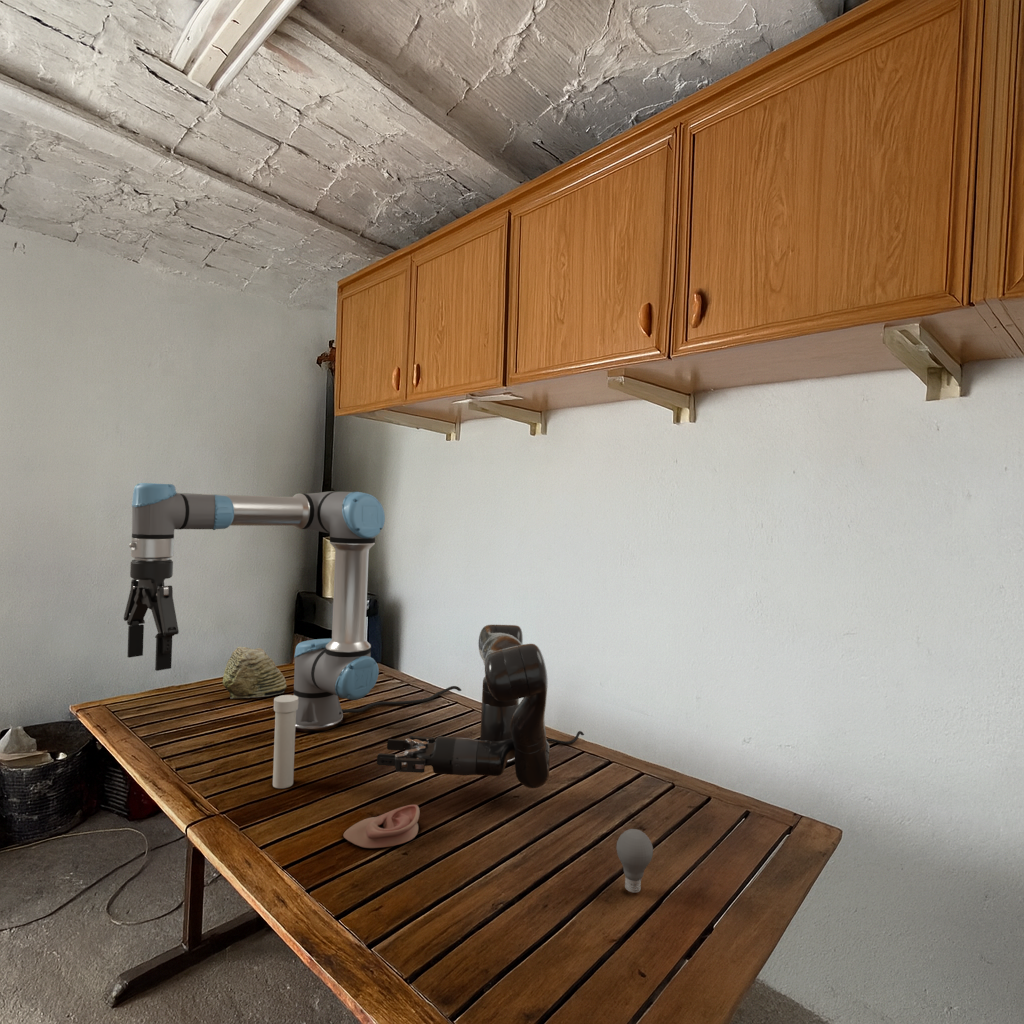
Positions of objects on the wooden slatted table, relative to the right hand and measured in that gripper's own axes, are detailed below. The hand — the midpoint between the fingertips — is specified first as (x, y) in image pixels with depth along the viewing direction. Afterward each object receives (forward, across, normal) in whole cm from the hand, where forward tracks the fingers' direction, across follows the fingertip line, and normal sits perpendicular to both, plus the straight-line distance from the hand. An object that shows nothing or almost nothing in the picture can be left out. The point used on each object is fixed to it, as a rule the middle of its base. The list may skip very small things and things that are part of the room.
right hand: (382, 751), depth 137 cm
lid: (+22, 0, -10) cm, 24 cm away
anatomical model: (-5, +17, +9) cm, 20 cm away
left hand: (+46, +10, -19) cm, 51 cm away
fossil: (+55, -58, +8) cm, 81 cm away
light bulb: (-50, +29, +9) cm, 59 cm away
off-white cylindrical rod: (+22, 0, +9) cm, 24 cm away
